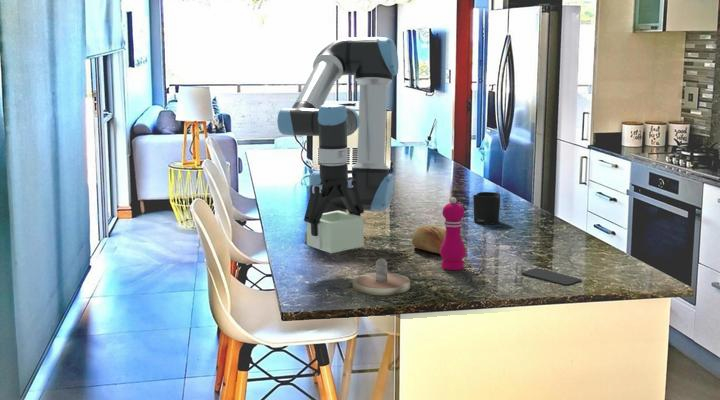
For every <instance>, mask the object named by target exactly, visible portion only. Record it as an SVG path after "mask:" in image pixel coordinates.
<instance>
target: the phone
mask: <svg viewBox="0 0 720 400" xmlns="http://www.w3.org/2000/svg"><path fill="white" fill-rule="evenodd" d="M521 275H522V276H523V277H529V278H533V279H536V280H540V281H544V282H548V281H549V282H548V283H552V284H557V285H560V286H566V287H567V286H572V285H575V284H577V283H578V284H579V283H581V282H582V279H581V278H578V277H576V276H570V275H567V274H563V273H558V272H555V271H550V270H547V269H542V268H537V267H534V268H533V267H532V268H531V269H528V270H527V269H526V270H524V271H522V272H521Z"/></svg>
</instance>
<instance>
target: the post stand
mask: <svg viewBox="0 0 720 400" xmlns="http://www.w3.org/2000/svg"><path fill="white" fill-rule="evenodd" d="M352 289H353V290H354V291H355V292H357V293H360V294H364V295H368V296H369V295H370V296H394V295H395V296H396V295H399V294H403V293H406V292H407V291H409V290H410V289H411V279H410V277H407V276H405V275H401V274H398V273H393V272H392V273H390V272H388V262H387V260H386V259H385V258H378V259H377V260H376V261H375V272H374V273H373V272H372V273H364V274H360V275H358V276H356V277H354V278H353V279H352Z"/></svg>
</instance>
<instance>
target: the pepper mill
mask: <svg viewBox="0 0 720 400" xmlns="http://www.w3.org/2000/svg"><path fill="white" fill-rule="evenodd" d="M457 202H458V200H457V198H456V197H451V198H450V202H449V203H447V204H444V206H443V208H442V216H443V218H444V220H443V222H444V223H443V225H444V226H445V231H446V235H445V238H444V241H443V243H442V245H441V248H440V254H439V255H440V257H441V258H442V260H441V268H442V269H443V270H447V271H460V270H463V269H464V268H465V267H464V266H465V262H464V260H463V259H464V258H465V257H466V247H465V244H464V243H463V239H462V236H461V227H462V226H463V220H462V219H463V218H464V216H465V210H464V206H462V204H460V203H457Z"/></svg>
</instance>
